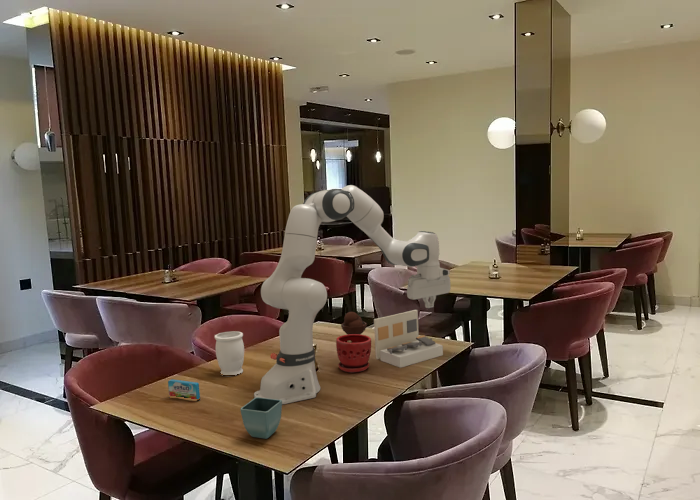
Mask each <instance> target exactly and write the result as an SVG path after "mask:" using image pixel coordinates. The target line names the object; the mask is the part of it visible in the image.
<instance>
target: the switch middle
mask: <svg viewBox="0 0 700 500" xmlns="http://www.w3.org/2000/svg"><path fill="white" fill-rule="evenodd" d="M404 345H407V346H408V347H415V346H418V345H421V343H418V342H407V343H403V344H402V346H404Z"/></svg>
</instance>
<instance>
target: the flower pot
mask: <svg viewBox="0 0 700 500" xmlns="http://www.w3.org/2000/svg"><path fill="white" fill-rule="evenodd" d="M282 408H283V404H282V400H276V399H267V398H259V397H256V398H252V399H251V400H250V401H249V402H247V403H246V404H244V405H243V406H242V407H240V414H241V419H242V424H243V425H244V428H245V431H246V432H247V433H248V435H250V436H251V437H252V438H257V439H258V438H259V439H264V440H265V439H266V440H267V439H268V438H270V437H271V436H272V435H273V434H274V433H275V432H276V431H277V429H278V428H279V425H280V423H281V420H282Z"/></svg>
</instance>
